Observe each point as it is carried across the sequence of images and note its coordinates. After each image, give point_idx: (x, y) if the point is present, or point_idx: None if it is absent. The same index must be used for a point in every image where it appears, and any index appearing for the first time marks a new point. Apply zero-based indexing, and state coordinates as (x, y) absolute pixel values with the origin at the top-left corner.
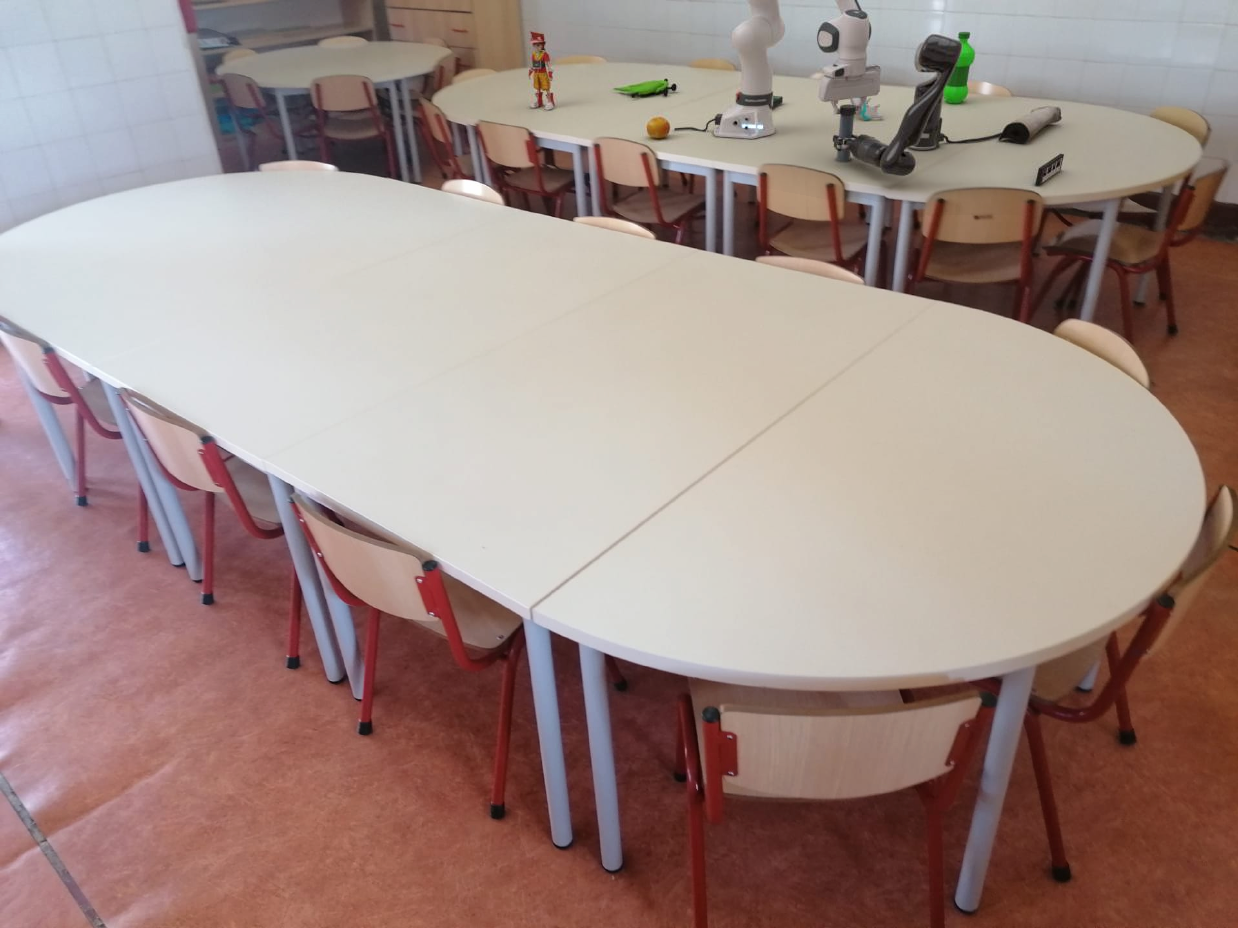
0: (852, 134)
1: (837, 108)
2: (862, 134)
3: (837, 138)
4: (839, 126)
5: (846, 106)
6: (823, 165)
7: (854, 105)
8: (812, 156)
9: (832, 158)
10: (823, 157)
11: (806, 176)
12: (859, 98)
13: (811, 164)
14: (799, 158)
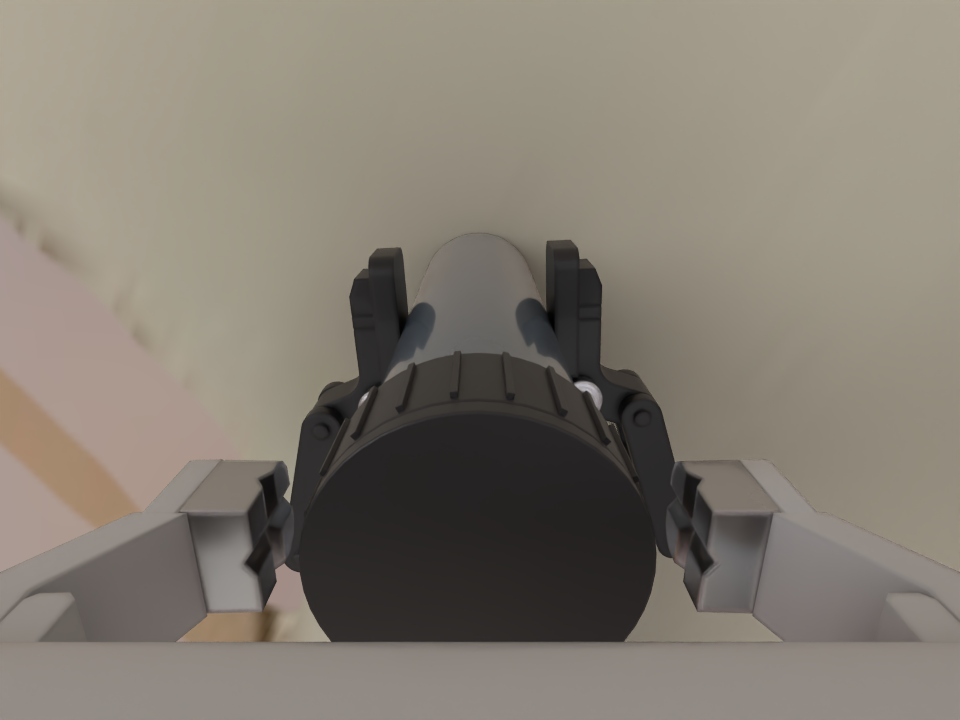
0: (571, 345)
1: (179, 631)
2: (649, 422)
3: (370, 367)
4: (389, 364)
5: (439, 571)
6: (277, 344)
7: (642, 575)
8: (278, 63)
9: (419, 206)
10: (360, 142)
11: (85, 507)
12: (899, 607)
13: (196, 281)
14: (144, 67)
